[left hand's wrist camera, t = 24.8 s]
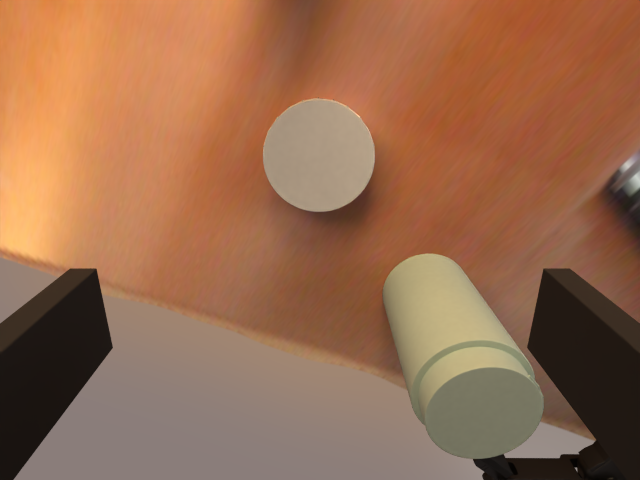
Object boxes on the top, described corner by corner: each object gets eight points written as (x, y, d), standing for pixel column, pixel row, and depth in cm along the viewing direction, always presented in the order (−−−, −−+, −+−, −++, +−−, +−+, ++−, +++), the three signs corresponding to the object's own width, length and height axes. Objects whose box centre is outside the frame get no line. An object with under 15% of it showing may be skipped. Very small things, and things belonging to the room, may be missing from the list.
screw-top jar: (416, 343, 45) (466, 483, 30) (365, 289, 43) (390, 411, 27) (484, 295, 43) (576, 419, 28) (434, 236, 41) (503, 335, 25)
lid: (377, 100, 36) (381, 102, 34) (367, 207, 40) (369, 215, 38) (266, 94, 36) (262, 95, 34) (265, 202, 40) (261, 209, 37)
